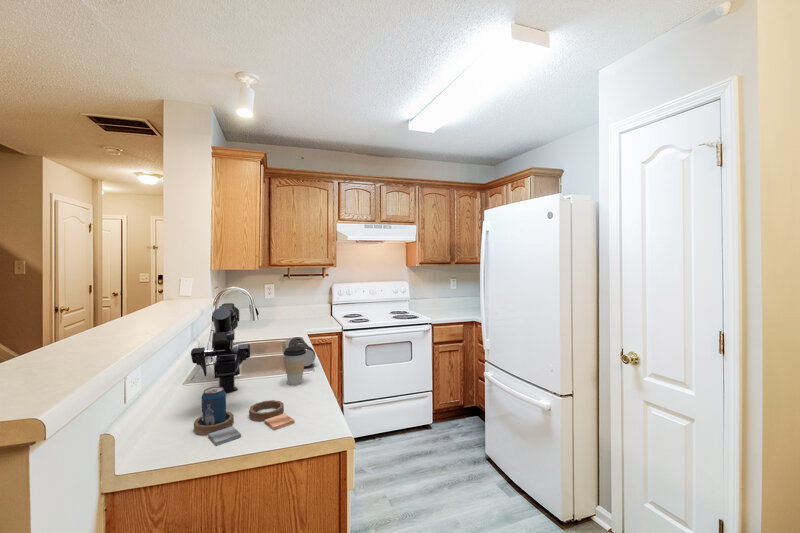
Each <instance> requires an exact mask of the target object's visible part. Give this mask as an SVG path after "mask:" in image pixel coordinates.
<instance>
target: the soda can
mask: <svg viewBox="0 0 800 533" xmlns="http://www.w3.org/2000/svg"><path fill="white" fill-rule="evenodd" d="M226 412H227V393H225V391H224V388H223V387H219V386H211V387H209V388H208V387H207V388H206V389H204V390H203V393H202V395H201V416H202V425H204V426H209V425H216V424H219V423H222V422H224V421H226Z"/></svg>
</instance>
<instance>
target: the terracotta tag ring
mask: <svg viewBox="0 0 800 533" xmlns="http://www.w3.org/2000/svg"><path fill="white" fill-rule="evenodd" d="M284 405H285V404H284V402H283V401H281V400H274V399H272V400H263V401H260V402H256V403H254V404H252V405H251V406H250V407H249V410H248V417H249V419H250V420H252V421H256V422H264V424H265V425H266V426H268V427H269V428H270V429H272V430H273V431H276V430H279V429H282V428H284V427H286V426H289V425H292V424H295V419H294V418H292V417H291V416H289V415H288V414H286V413H284V412H285V411H284V410H285V406H284ZM266 409H268V410H269V409H273V410H271V411H265V412H261V411H262V410H266ZM281 427H282V428H281Z"/></svg>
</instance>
